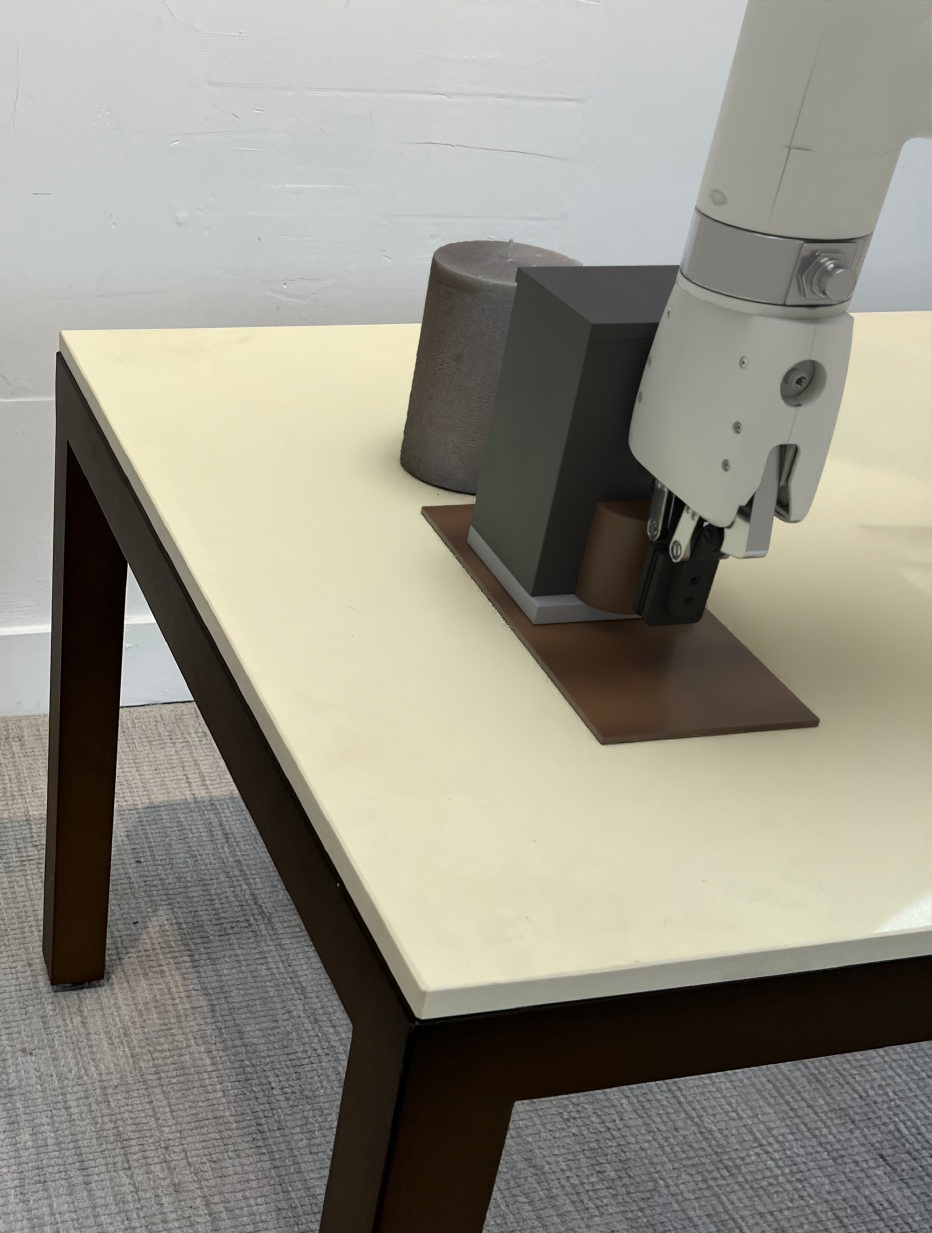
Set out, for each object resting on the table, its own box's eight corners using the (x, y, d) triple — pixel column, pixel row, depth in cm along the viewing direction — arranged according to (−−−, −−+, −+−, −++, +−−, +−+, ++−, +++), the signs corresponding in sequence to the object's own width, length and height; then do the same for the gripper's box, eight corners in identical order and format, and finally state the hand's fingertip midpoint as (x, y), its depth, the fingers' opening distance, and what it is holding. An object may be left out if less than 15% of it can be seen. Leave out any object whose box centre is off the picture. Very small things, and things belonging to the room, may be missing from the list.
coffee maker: (713, 628, 78) (807, 336, 68) (543, 640, 76) (615, 341, 66) (618, 533, 87) (688, 264, 77) (464, 541, 85) (517, 266, 76)
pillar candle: (374, 445, 98) (406, 222, 89) (494, 431, 101) (536, 215, 92) (445, 504, 90) (487, 268, 82) (571, 487, 93) (625, 257, 85)
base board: (818, 726, 71) (821, 719, 71) (601, 744, 69) (603, 737, 69) (593, 503, 92) (594, 498, 91) (420, 511, 89) (421, 505, 89)
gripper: (951, 313, 57) (809, 689, 68) (756, 214, 69) (661, 548, 80) (788, 317, 56) (669, 700, 67) (617, 215, 68) (539, 555, 78)
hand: (665, 616), depth 73 cm, fingers closed
